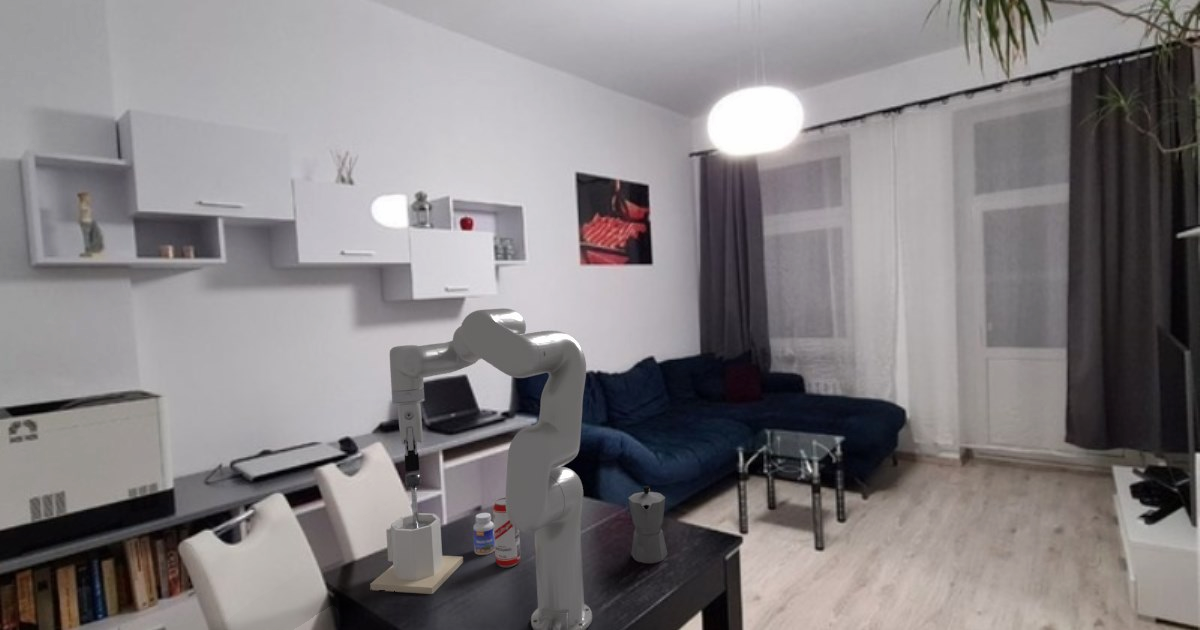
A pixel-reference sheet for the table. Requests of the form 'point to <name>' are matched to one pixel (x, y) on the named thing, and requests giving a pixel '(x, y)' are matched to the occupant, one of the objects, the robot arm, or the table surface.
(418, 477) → the plunger
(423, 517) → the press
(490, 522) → the pill bottle
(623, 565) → the table surface
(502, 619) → the table surface
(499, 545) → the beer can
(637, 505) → the coffeepot
